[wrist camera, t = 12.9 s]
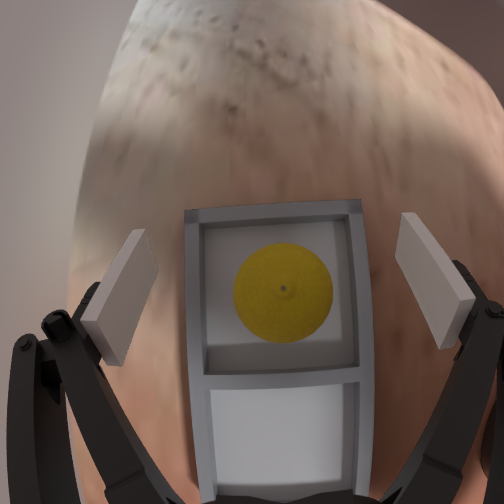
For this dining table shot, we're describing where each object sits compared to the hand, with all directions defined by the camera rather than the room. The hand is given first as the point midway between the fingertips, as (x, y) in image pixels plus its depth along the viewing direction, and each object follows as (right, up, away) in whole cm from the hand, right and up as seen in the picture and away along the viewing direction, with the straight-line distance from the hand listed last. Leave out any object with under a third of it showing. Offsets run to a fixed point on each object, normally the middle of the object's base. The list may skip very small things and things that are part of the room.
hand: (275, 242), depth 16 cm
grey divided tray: (+1, -9, +5) cm, 11 cm away
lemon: (+1, -4, +6) cm, 7 cm away
